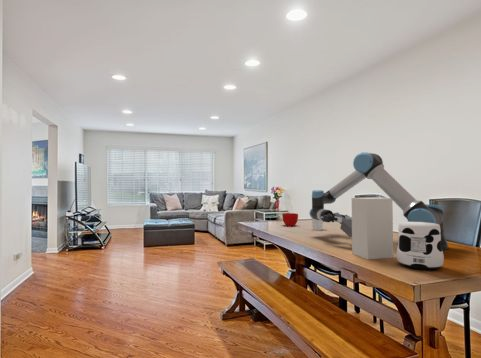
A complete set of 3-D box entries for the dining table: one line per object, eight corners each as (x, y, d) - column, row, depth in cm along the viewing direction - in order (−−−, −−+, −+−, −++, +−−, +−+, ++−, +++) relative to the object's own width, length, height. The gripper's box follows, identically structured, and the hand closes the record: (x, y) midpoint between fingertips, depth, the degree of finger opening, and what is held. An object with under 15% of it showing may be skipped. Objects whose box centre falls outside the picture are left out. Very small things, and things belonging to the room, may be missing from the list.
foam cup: (310, 230, 233) (310, 213, 234) (312, 228, 242) (312, 212, 242) (323, 231, 230) (322, 213, 230) (324, 229, 238) (324, 212, 239)
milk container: (423, 260, 141) (423, 220, 141) (454, 271, 124) (453, 226, 124) (388, 262, 139) (387, 221, 139) (414, 273, 122) (413, 227, 122)
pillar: (352, 253, 156) (351, 197, 156) (376, 252, 159) (375, 197, 159) (367, 259, 144) (366, 199, 144) (393, 257, 147) (392, 198, 148)
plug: (330, 218, 180) (332, 211, 178) (338, 217, 182) (340, 210, 180) (352, 239, 165) (355, 232, 163) (360, 237, 168) (363, 230, 165)
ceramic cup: (302, 225, 264) (302, 213, 264) (294, 227, 250) (294, 215, 250) (288, 224, 271) (288, 212, 271) (279, 226, 257) (279, 214, 257)
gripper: (339, 221, 197) (361, 226, 174) (311, 222, 192) (331, 227, 170) (339, 209, 197) (361, 212, 174) (311, 210, 192) (331, 213, 170)
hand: (346, 219), depth 172 cm, fingers closed on plug, 6 cm apart
